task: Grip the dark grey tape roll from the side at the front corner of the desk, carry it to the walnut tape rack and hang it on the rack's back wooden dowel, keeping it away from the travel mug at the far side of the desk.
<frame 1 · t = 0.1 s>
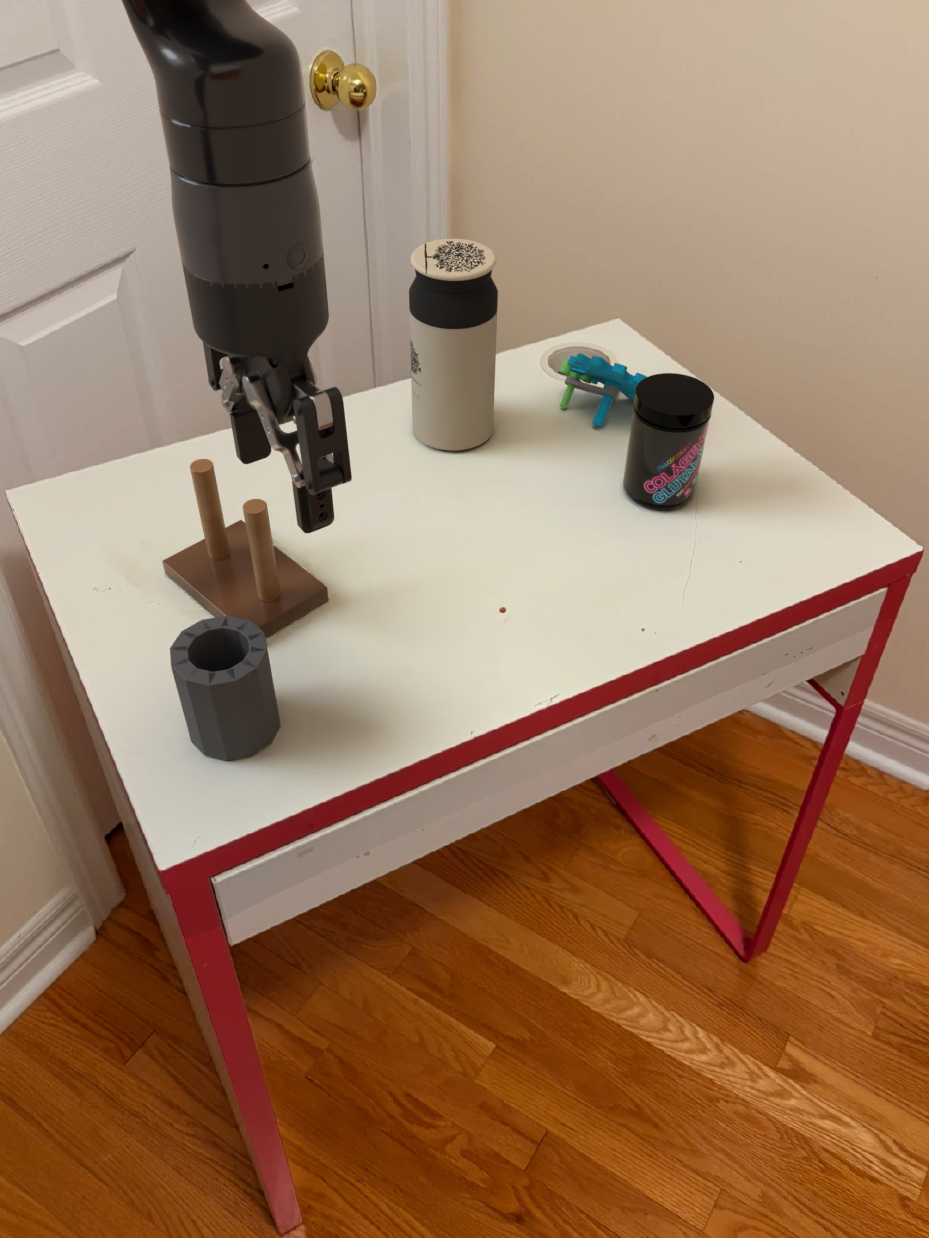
hand: (284, 491, 67), 18 cm above the table, tool pointing down, fingers open, 8 cm apart
supplement container: (657, 492, 97), on the table
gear: (606, 412, 107), on the table
travel mug: (452, 432, 104), on the table
tape rack: (246, 586, 87), on the table
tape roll: (235, 725, 76), on the table
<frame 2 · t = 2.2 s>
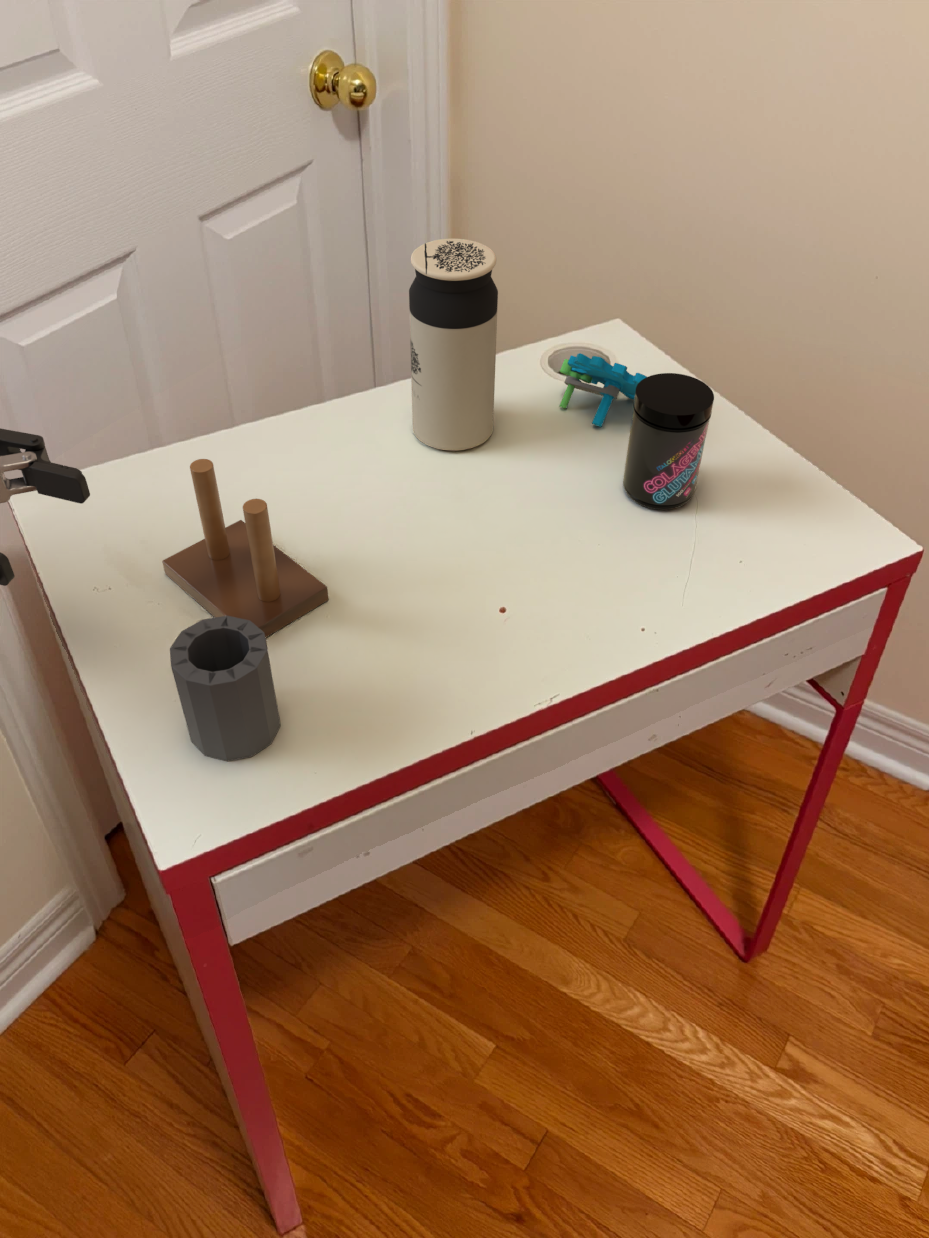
hand: (48, 527, 67), 16 cm above the table, tool horizontal, fingers open, 8 cm apart
nothing on the table moved.
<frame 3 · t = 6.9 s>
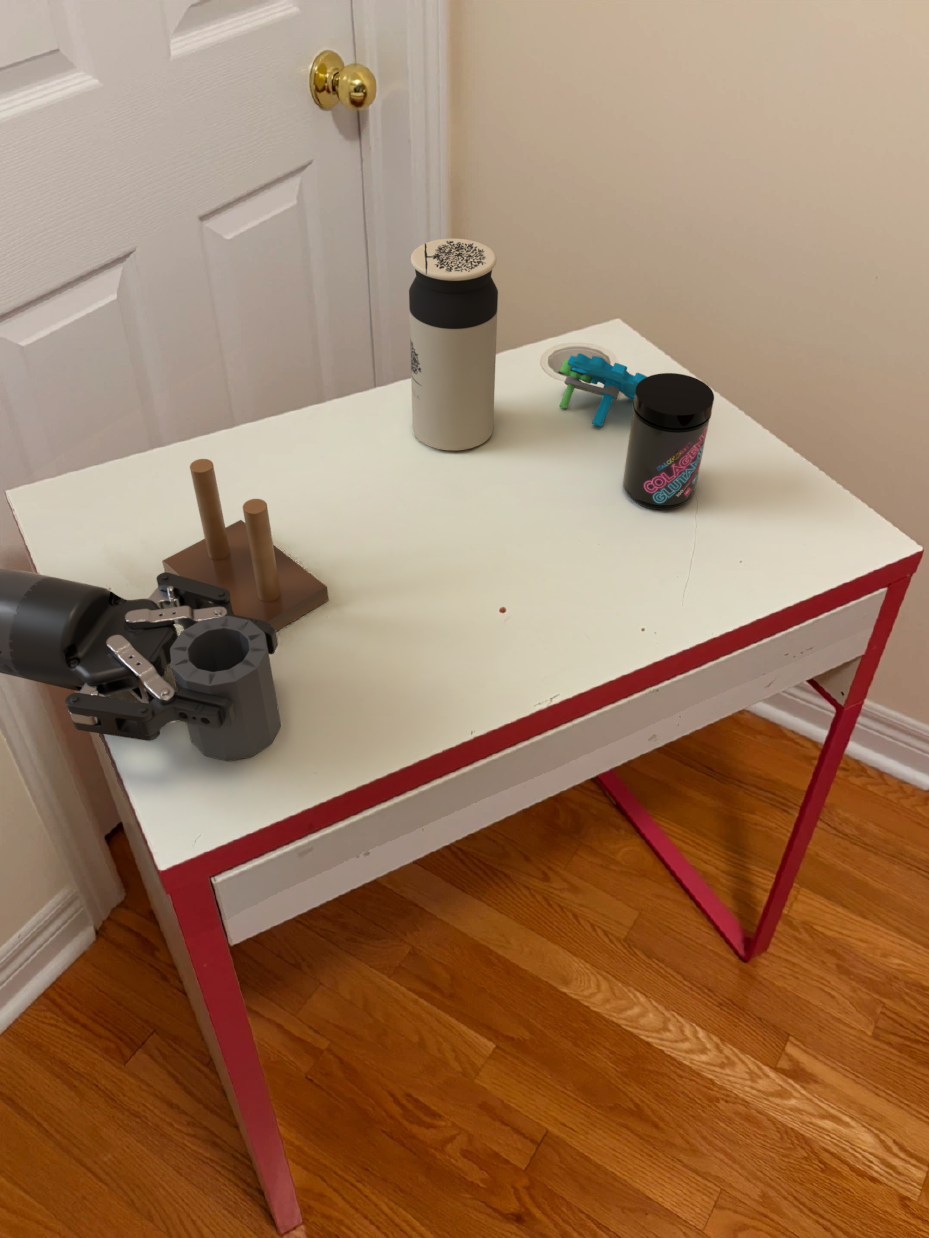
hand: (253, 675, 72), 6 cm above the table, tool horizontal, fingers closed on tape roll, 6 cm apart
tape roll: (235, 725, 76), on the table, touching gripper
everything else where it was.
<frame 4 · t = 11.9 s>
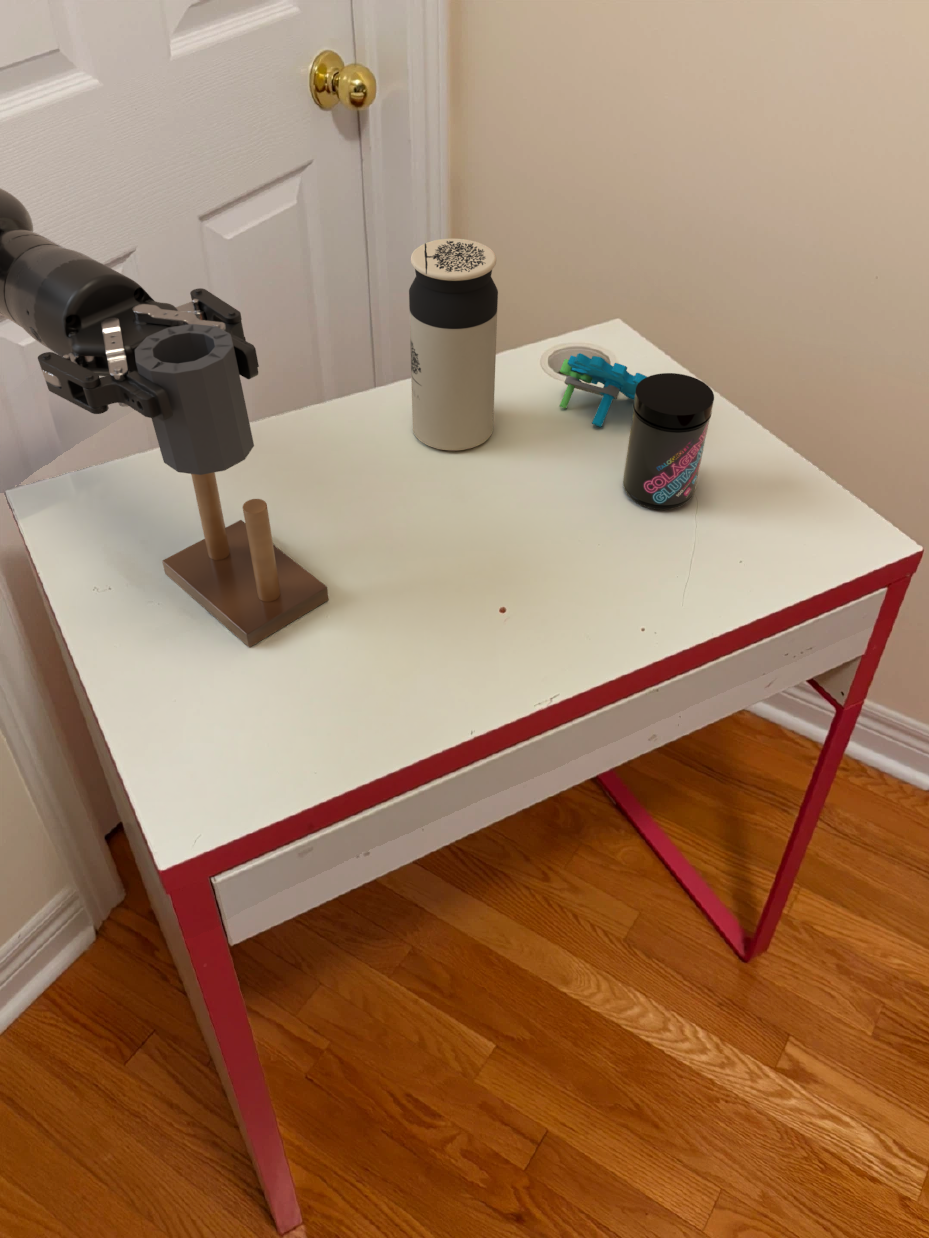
hand: (210, 385, 70), 21 cm above the table, tool horizontal, fingers closed on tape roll, 6 cm apart
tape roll: (208, 448, 75), point 15 cm above the table, touching gripper
everything else where it was.
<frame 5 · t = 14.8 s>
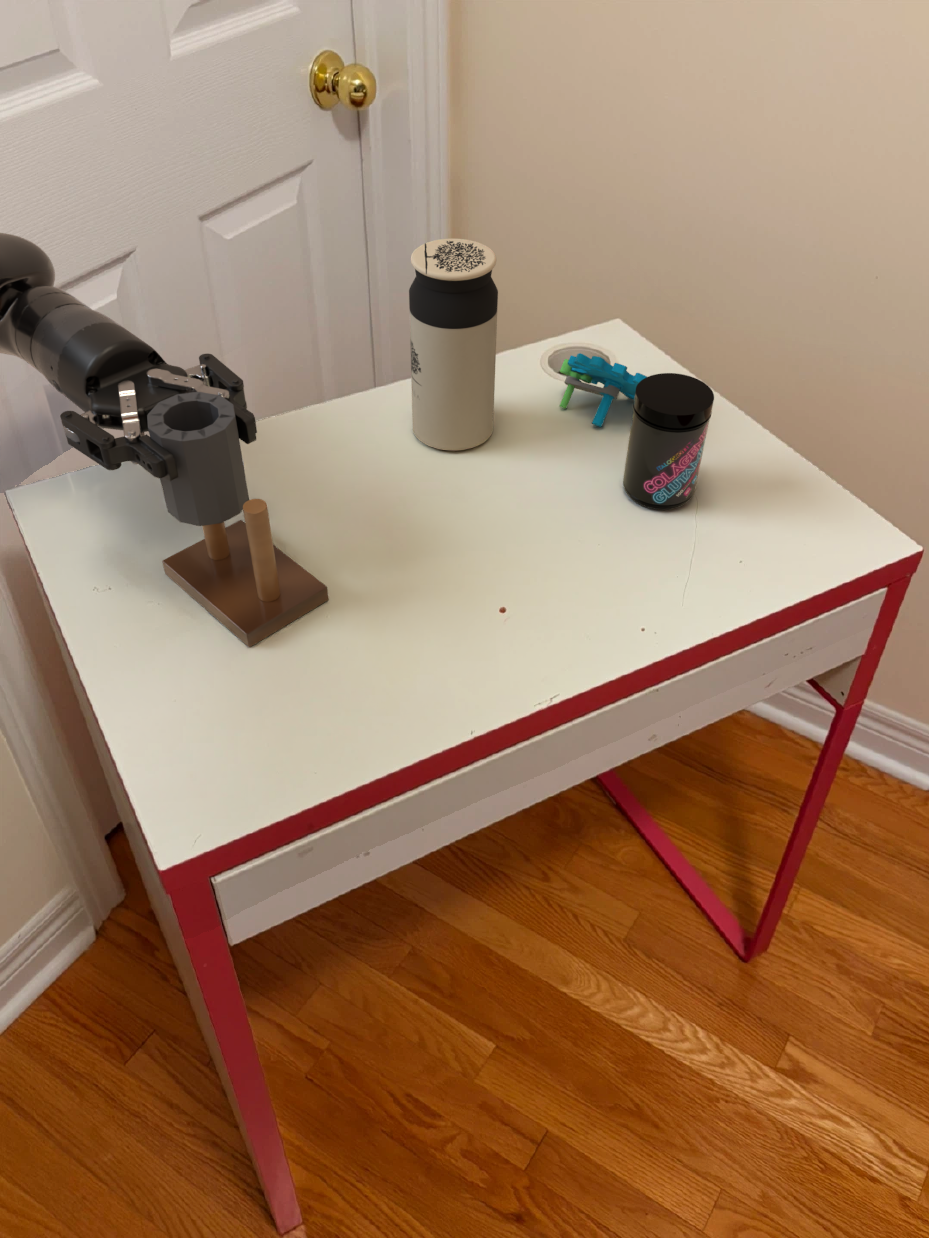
hand: (213, 450, 79), 13 cm above the table, tool horizontal, fingers closed on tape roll, 6 cm apart
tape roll: (208, 500, 84), point 7 cm above the table, touching gripper
everything else where it was.
when the fingers open (8 cm above the table, at t = 17.2 s): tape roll stays where it is, resting on tape rack.
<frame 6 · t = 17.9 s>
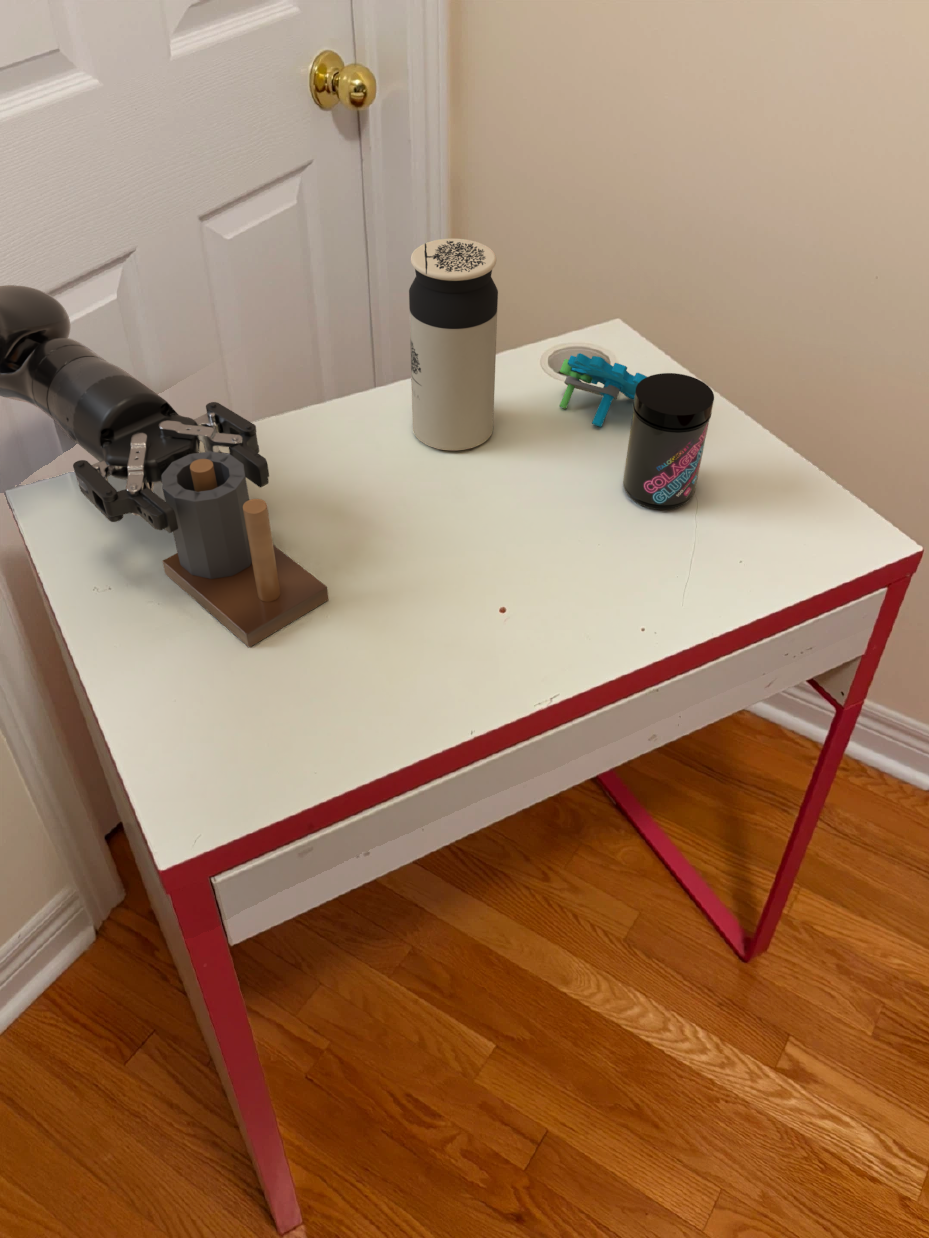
hand: (219, 498, 82), 8 cm above the table, tool horizontal, fingers open, 8 cm apart
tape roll: (218, 552, 88), point 1 cm above the table, touching tape rack
everything else where it was.
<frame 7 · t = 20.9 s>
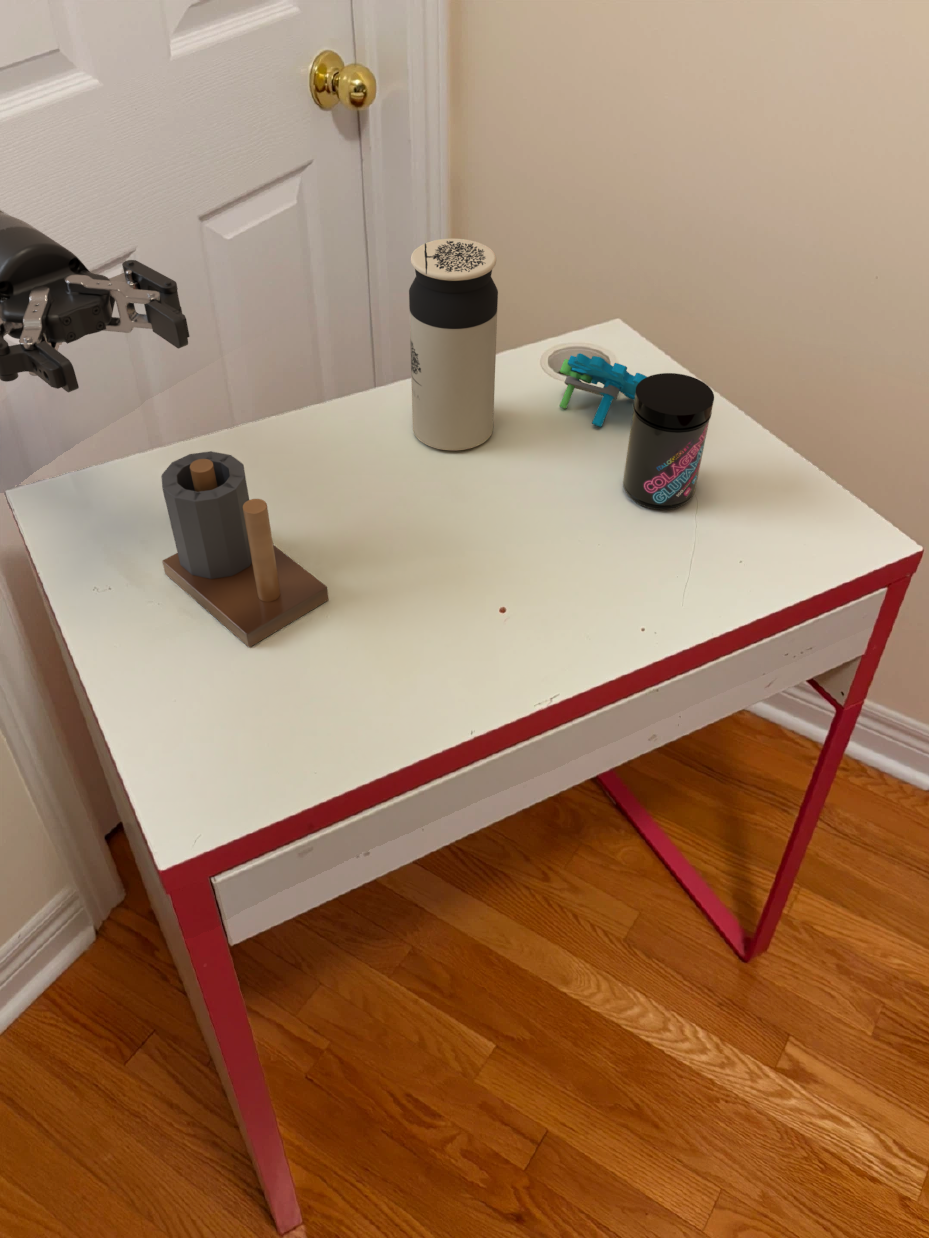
hand: (128, 356, 71), 22 cm above the table, tool horizontal, fingers open, 8 cm apart
nothing on the table moved.
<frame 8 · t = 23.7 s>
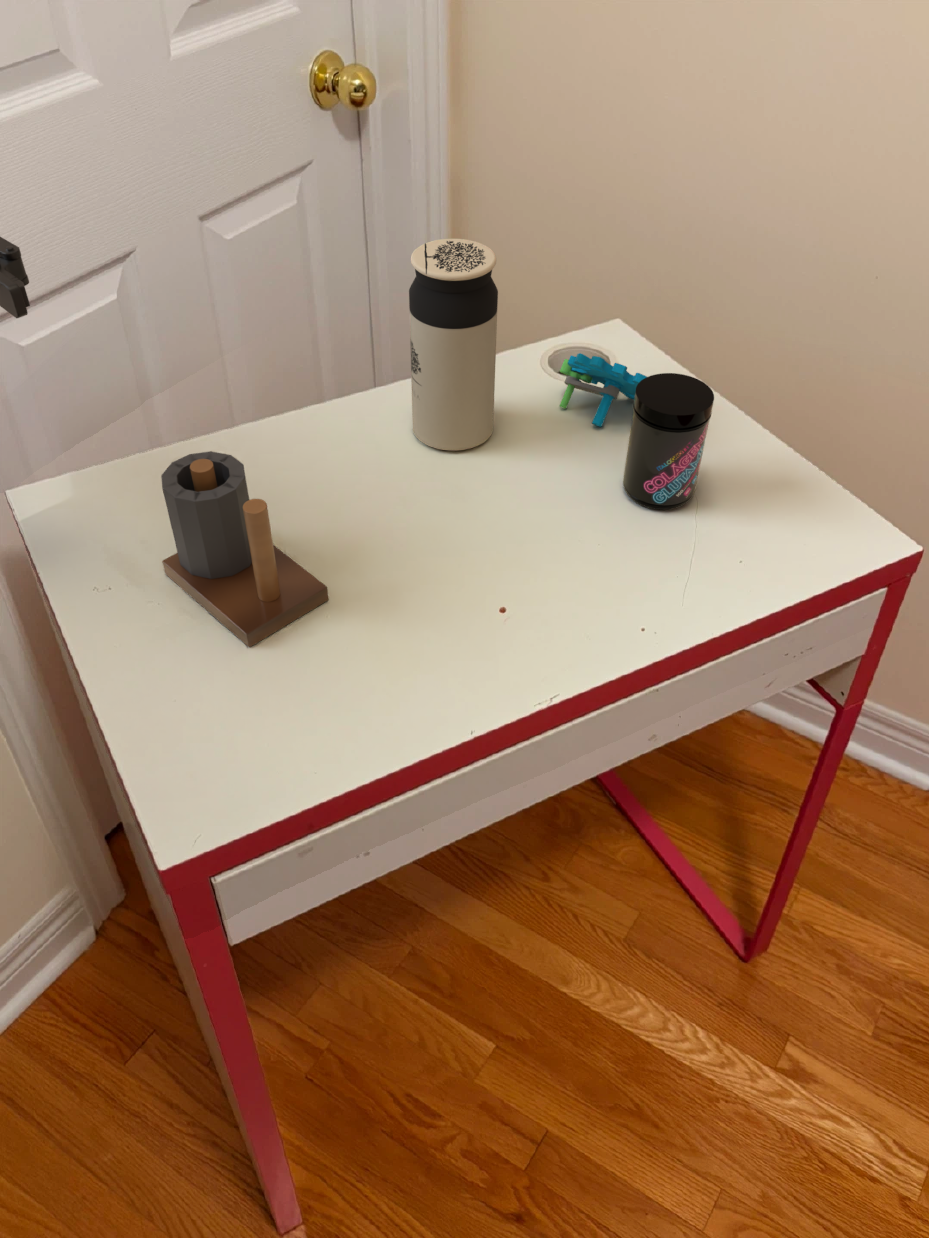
nothing on the table moved.
at the end: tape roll 0.1 cm from the target spot on the tape rack, point 1.5 cm above the tape rack's base; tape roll touching tape rack; the gripper is holding nothing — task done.
